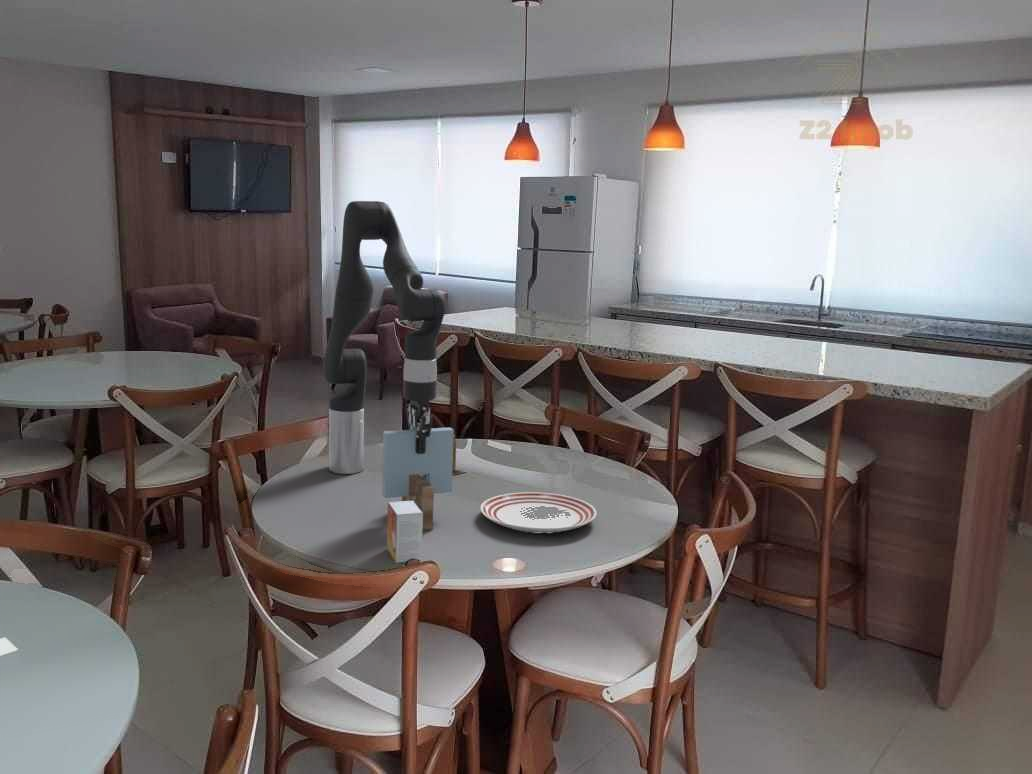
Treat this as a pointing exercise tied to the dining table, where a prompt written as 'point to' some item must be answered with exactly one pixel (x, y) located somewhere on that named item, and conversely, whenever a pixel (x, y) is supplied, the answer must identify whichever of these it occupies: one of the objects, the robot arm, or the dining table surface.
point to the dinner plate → (510, 505)
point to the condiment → (454, 469)
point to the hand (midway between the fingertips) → (418, 451)
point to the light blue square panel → (416, 461)
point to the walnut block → (422, 499)
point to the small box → (404, 531)
